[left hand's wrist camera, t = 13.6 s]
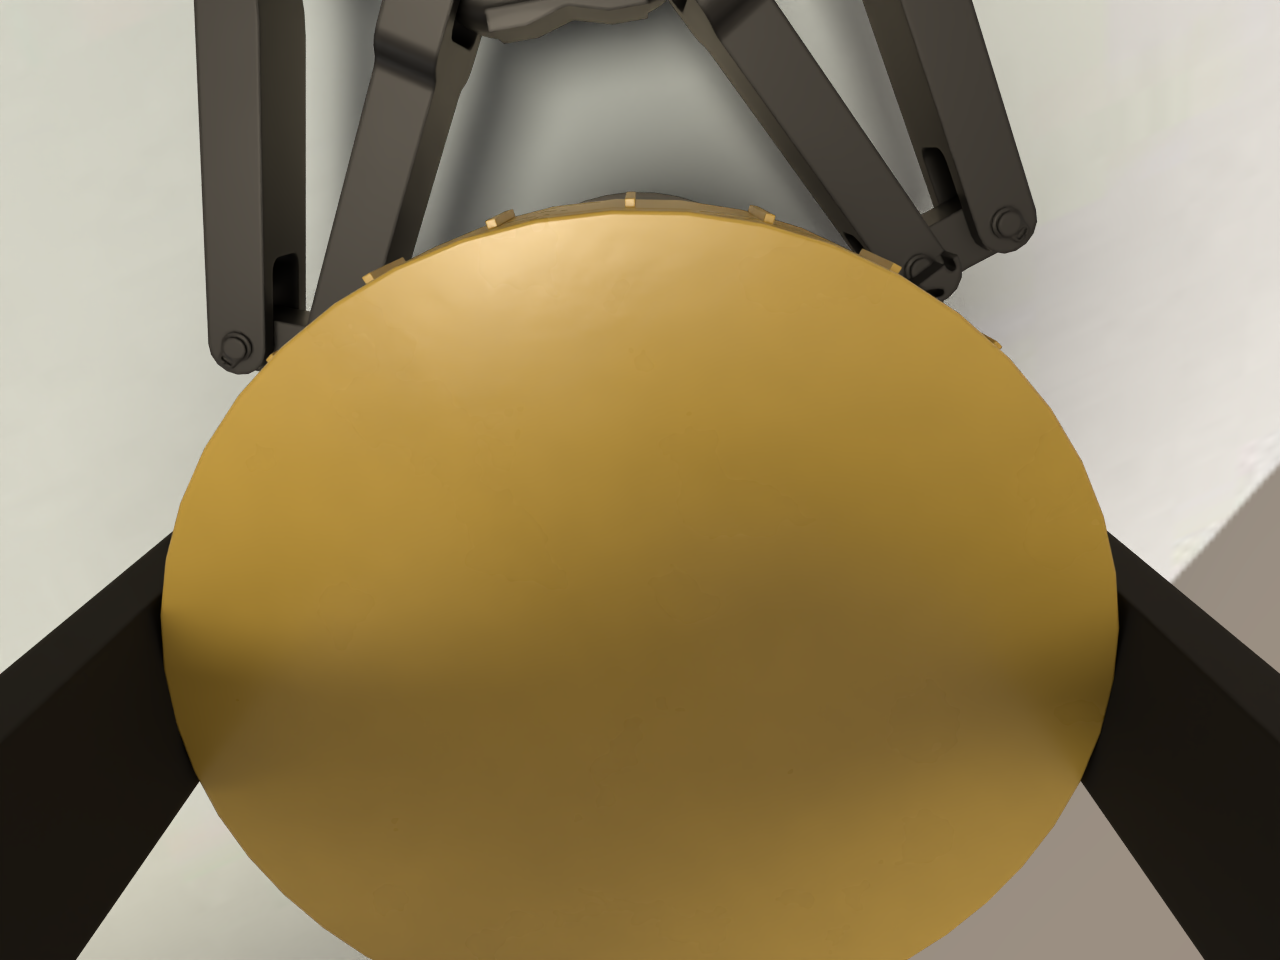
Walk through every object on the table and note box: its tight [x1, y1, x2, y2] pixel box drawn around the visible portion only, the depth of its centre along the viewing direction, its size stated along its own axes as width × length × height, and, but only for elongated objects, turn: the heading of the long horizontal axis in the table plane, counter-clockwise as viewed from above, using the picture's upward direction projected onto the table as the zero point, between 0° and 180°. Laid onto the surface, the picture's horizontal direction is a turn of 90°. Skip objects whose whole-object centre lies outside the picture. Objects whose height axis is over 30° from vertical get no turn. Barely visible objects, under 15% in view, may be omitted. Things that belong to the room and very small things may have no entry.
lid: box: [161, 192, 1119, 960], centre depth 11 cm, size 12×12×2 cm
